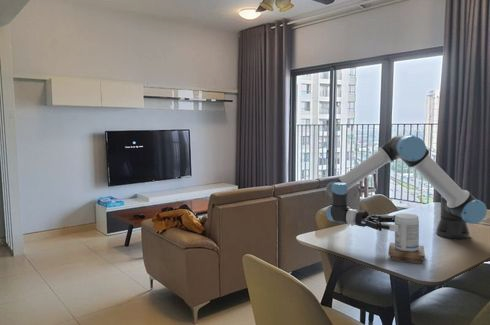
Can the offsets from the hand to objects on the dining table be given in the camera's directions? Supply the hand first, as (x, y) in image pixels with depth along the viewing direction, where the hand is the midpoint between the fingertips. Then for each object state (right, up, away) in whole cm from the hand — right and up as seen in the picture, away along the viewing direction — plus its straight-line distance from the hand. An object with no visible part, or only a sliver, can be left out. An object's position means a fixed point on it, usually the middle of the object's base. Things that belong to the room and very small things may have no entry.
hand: (403, 225), depth 160 cm
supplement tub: (+1, -11, 0) cm, 11 cm away
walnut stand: (+1, -14, +1) cm, 14 cm away
